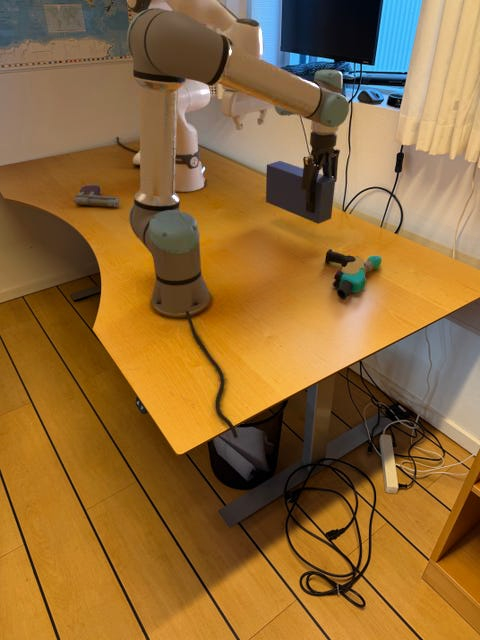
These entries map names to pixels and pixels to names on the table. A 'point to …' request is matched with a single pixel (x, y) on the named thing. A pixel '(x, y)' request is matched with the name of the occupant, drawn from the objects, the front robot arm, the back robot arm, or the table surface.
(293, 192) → the box
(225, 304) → the table surface
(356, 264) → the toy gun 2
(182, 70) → the front robot arm
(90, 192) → the toy gun
